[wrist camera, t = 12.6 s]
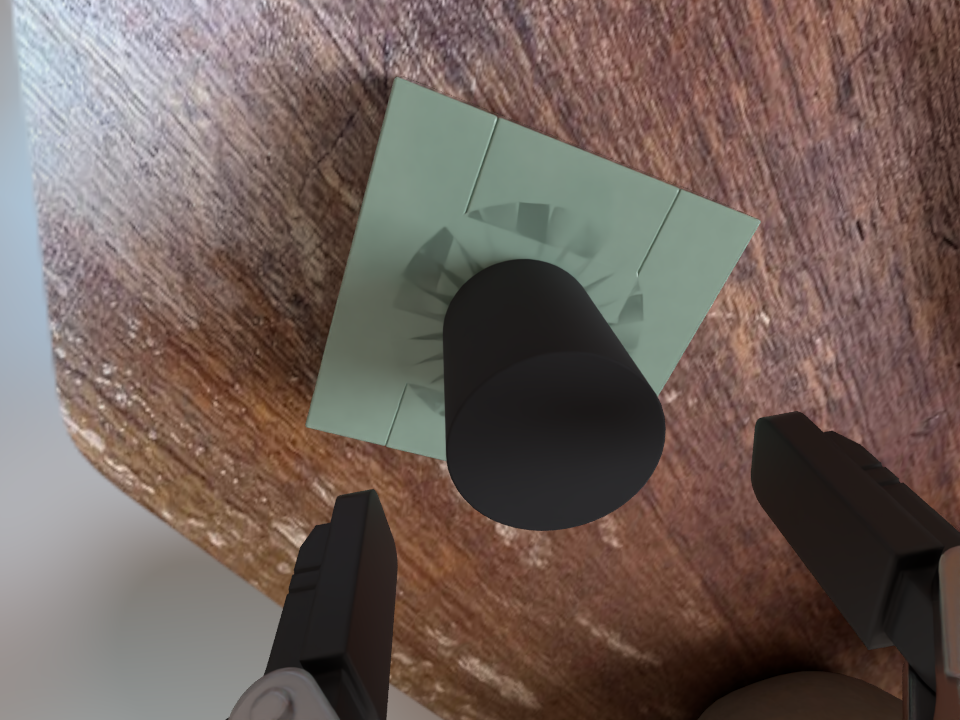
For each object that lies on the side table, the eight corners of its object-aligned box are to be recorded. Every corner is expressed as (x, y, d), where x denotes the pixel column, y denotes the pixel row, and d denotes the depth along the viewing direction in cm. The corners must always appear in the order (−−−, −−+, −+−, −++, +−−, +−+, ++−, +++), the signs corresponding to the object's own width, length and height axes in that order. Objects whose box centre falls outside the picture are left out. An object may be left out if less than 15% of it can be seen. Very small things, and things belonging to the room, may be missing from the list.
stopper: (424, 341, 21) (417, 507, 13) (468, 216, 19) (492, 322, 11) (545, 376, 22) (606, 548, 14) (598, 261, 20) (708, 388, 12)
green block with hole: (319, 385, 22) (304, 427, 20) (401, 75, 17) (394, 75, 14) (581, 452, 25) (598, 498, 22) (718, 201, 20) (762, 221, 17)
